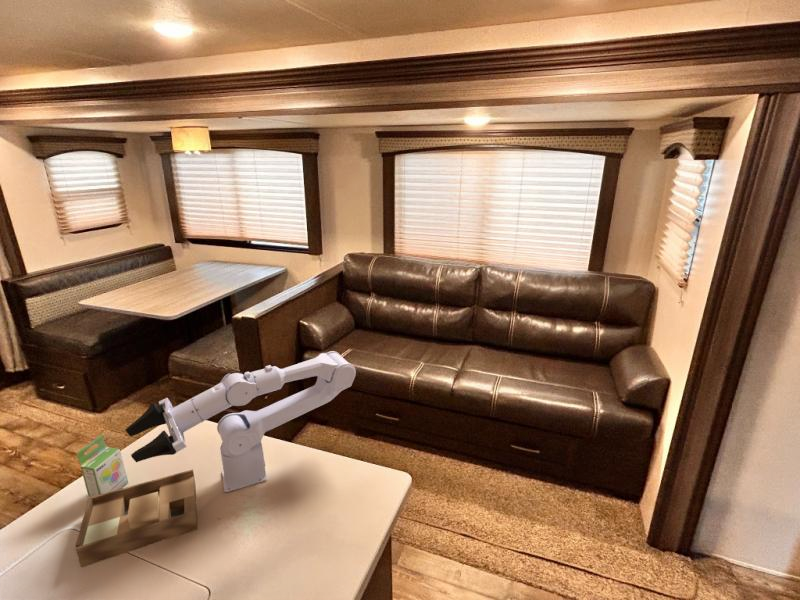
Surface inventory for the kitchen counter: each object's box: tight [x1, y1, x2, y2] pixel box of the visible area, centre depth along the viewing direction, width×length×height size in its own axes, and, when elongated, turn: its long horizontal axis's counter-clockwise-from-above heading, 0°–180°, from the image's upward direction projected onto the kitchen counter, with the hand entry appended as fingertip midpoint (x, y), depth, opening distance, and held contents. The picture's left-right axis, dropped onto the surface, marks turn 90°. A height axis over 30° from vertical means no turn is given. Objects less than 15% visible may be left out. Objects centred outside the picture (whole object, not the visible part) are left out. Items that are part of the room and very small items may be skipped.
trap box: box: [74, 469, 198, 568], centre depth 88 cm, size 20×14×5 cm
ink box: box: [76, 433, 129, 498], centre depth 95 cm, size 7×4×13 cm, turn 169°
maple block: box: [127, 492, 161, 530], centre depth 85 cm, size 5×5×4 cm
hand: (130, 445), depth 85 cm, fingers open, 7 cm apart
